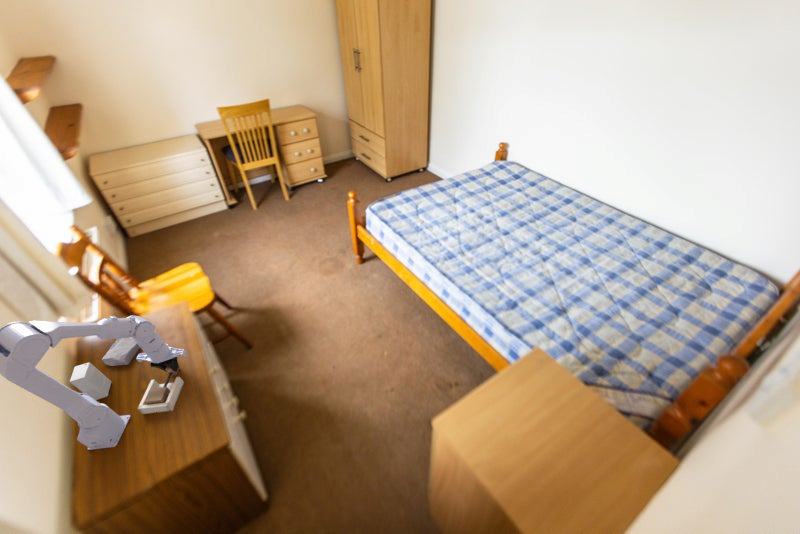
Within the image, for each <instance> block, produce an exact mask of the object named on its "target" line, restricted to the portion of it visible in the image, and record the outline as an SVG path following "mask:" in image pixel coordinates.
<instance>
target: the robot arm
mask: <svg viewBox="0 0 800 534" xmlns="http://www.w3.org/2000/svg"><path fill="white" fill-rule="evenodd" d="M155 329H156V326H155V324H154V323H152V322H151V321H150V320H147V319H146V318H143V317H141V316H138V315H135V314H132V315H129V316H127V317H122V318H121V317H120V318H119V317H118V316H115V315H110V316H109V317H108V318H104V317H103V318H102V319H100V320H99V321H97V322H79V321H78V322H71V321H66V322H65V321H48V320H47V321H45V320H30V321H27V322H25V321H12V322H8V323H6V324H5V325H2V326H1V327H0V375H1V377H3V378H5V379H6V380H7V381H9V382H10V383H13V384H14V385H16V386H18V387H20V388H22V389H23V390H26V391H27V392H29V393H31V394H33V395H35V396H36V397H38V398H41V399H42V400H44V401H46V402H47V403H49V404H52V405H53V406H55V407H56V408H59V409H61V410H62V411H63V413H65V414H66V415H67V416H69V417H70V418H72V419H73V420H74V421H75V422H77V426H78V427H79V432H78V435H77V438H76V439H77V441H78V442H79V443H80V444H82V445H84V446H85V447H86V448H87V450H88V451H89V450H91V451H92V450H99V449H107V448H115V447H116V446H117V445H118V444H119V441H120V439H121V437H122V435H123V434H124V431H125V429H126V427H127V425H128V422H129V421H130V419H131V417H132V416H131V415H130V414H126V415H119V414H117V413H116V411H114V410H113V409H111V408H110V407H109V406H108V405H107V404H105V403H100V401H97V400H95V399H93V398H92V397H91V396H90V395H89V394H87V393H83V392H78V391H77V390H73V389H71V388H70V387H68V386H67V385H65V384H63V383H62V382H60V381H58V379H56V378H53V377H52V376H50V375H49V374H47V373H45V372H44V371H42V370H40V369H38V368H37V367H36V366H37V365H38V364H39V363H40V361H41V360H42V358H43V357H44V356H45V355H46V353H47V352H48V351H49V349H50V347H51V348H52V349H54V348H56V347H57V345H58V344H59V343H60V342H61V341H62V340H63V339H73V338H83V337H84V338H85V337H93V336H96V337H97V338H98V339H100V340H112V339H114V340H115V339H116V340H117V339H118V338H129V337H132V338H133V339H134V340H135V341H136V343H137V344H138V345H139V346H140V349H141V350H142V351H143V352H141V353H138V355H137V356H136V358H135V359H136V360H137V362H138V363H142V362H144V361H145V362H148V363H150V368H157V369H160V370H161V371H164V372H166V373H168V372H167V371H166V370H165V369H166V367H167V366H168V367H170V368H171V369H172V370H173V371H174V372H177V371H178V372H179V370H178V368H179V369H180V365H179V362H178V357H180V358H185V357H186V355H187V351H186V350H185V349H184V348H176V347H172V346H170V345H169V344H168V343H166V342H165V341H164V340H163V339H162V337H161V336H160V334H158V332H157V331H156V330H155ZM178 372H177V373H178Z"/></svg>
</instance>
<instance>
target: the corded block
mask: <svg viewBox="0 0 800 534" xmlns="http://www.w3.org/2000/svg"><path fill="white" fill-rule="evenodd" d="M179 369H180V367H179V368H178V371H177V372H174V371H173V370H172V369H171V368H170V367H168V366H167V367H166V369H165V370H166V371H167V372H166V371H165V372H166V373H168V375H167V378H166V380H165V383H163V384H164V387H161V388H152V389H150V391H149V393H148V395H147V397H146V399H145V401H144V402H145V403H146V404H147V405H150V404H159V403H165V402H166V400H167V398H168V395H169V393H170V390H169V389H168V388H167V384H168V383H170V380H171V377H172V376H177V374H178V372H179Z"/></svg>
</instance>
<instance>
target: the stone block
mask: <svg viewBox="0 0 800 534" xmlns="http://www.w3.org/2000/svg"><path fill="white" fill-rule="evenodd" d="M140 349H141V348H140V346H139V345H138V344H137V343H136V341H135V340H134V339H133V338H132V337H129V338H116V340H115V342H113V343H112V344H111V346H110V347H109V350H107V352H106V353H105V355H104V356H103V357H102V358H101V360H102V362H103V363H104V364H105V365H106V366H109V367H113V366H114V367H115V366H128V365H129V364H131V362H132V360H133V359H134V358H135V356H136V355H137V353H138V352H139V351H140Z"/></svg>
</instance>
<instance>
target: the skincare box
mask: <svg viewBox="0 0 800 534" xmlns="http://www.w3.org/2000/svg"><path fill="white" fill-rule="evenodd" d="M69 383H70V384H71V385H72V386H74V387H75V388H77V389H78V390H79V391H80V392H81V393H87V394H89V395H90V396H91V397H92V398H93V399H95V400H96V401H97V400H100V399H104V398H107V397H108V396H109V391H110V389H111V384H112V380H110V379H109V378H108V377H107V376H106V375H105V374H103V373H102V372H101V371H100V370H99V369H98V368H97V367H96V366H95V365H94V364H92V363H91V362H85V363H81V364H79V365H76V366H74V368H73V371H72V374H71V377H70V379H69Z"/></svg>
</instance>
